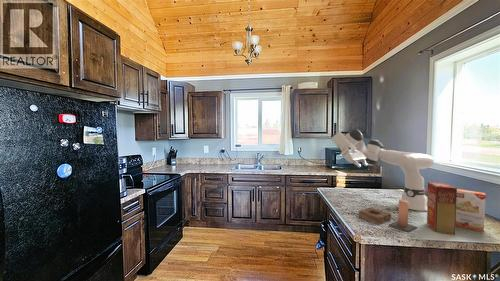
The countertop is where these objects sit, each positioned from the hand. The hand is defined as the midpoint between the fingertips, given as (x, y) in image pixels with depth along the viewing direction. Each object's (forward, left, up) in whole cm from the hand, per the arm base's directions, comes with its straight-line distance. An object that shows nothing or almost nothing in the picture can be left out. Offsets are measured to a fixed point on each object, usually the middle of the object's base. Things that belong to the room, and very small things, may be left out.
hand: (363, 166), depth 148 cm
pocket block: (+4, +10, -31) cm, 33 cm away
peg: (+2, +25, -30) cm, 40 cm away
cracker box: (-30, +44, -32) cm, 62 cm away
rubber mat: (+2, +25, -31) cm, 40 cm away
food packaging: (-14, +37, -32) cm, 51 cm away
